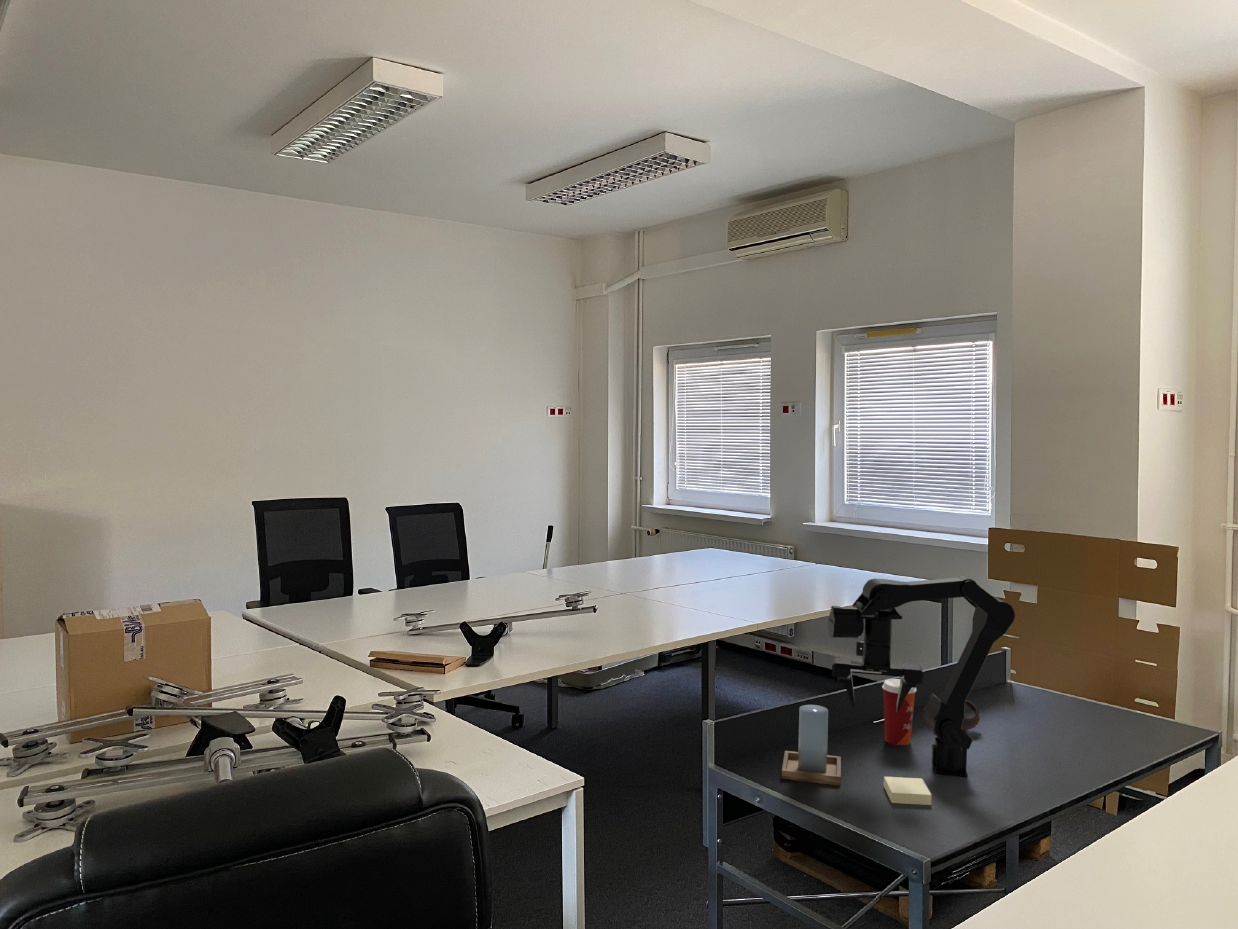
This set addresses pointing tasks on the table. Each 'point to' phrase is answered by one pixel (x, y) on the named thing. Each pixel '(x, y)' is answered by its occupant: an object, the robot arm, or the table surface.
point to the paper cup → (897, 714)
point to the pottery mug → (973, 721)
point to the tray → (794, 773)
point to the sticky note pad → (907, 790)
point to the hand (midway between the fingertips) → (875, 709)
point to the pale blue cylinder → (813, 738)
